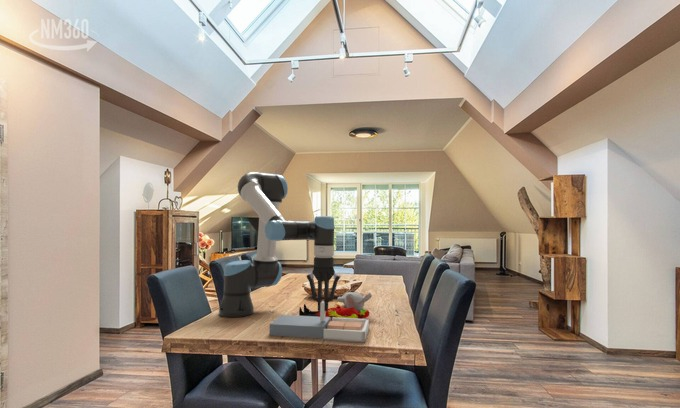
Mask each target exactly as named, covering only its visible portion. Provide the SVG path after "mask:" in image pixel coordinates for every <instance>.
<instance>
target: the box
mask: <svg viewBox="0 0 680 408" xmlns="http://www.w3.org/2000/svg"><path fill="white" fill-rule="evenodd" d="M331 321H340V322H359V323H362V331H357V330H339V329H324V338H323V341H333V342H334V341H335V342H337V341H338V342H353V343H366V339H367V336H368V334H369V329H370V319H369V318H363V319H355V318H336V317H331Z"/></svg>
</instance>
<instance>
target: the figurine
mask: <svg viewBox="0 0 680 408" xmlns="http://www.w3.org/2000/svg"><path fill="white" fill-rule="evenodd" d="M362 309H363V310H361V313H359V312H358V311H357V310H355V309H354V308H347V307H342V306H341V305H339V304H338V303H335V304H334V305H333V307H328V311H326V313H325V317H331V318H332V317H335V318H355V319H368V317H369V316H370V311H369V310H368V309H364V308H362ZM298 312H299V313H298V316H316V317H320V311H318V310H311V309H309V308H308V307H307V305H306V304H305V303H303V309H302V307H301V306H299V311H298Z"/></svg>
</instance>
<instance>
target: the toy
mask: <svg viewBox="0 0 680 408" xmlns="http://www.w3.org/2000/svg"><path fill="white" fill-rule="evenodd" d="M372 297H373V295H372V293H367V294H366V295H365V296H362V294H361V293H359V292H351V291H350V292H349V291H348V292H345V293H344V294H343V295H342V296H338V297H337V299H336V300H337V302H339V303H342V304H343V305H344V306H345V308H354V309H355V310H357V311H358V312H359V313H361V310H363V309H364V306H365V303H366V302H368V301H369V300H371V298H372Z"/></svg>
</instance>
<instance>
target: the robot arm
mask: <svg viewBox="0 0 680 408" xmlns="http://www.w3.org/2000/svg"><path fill="white" fill-rule="evenodd" d="M288 189H289V188H288V183H287V180H286V179H285V177H284V176H283V175H281V174H276V173H267V172H257V171H250V172H247V173H245V174H243V175H242V176H241V177H240V179H239V181H238V183H237V192H238V194H239V196H240V197H241V198H242V200H243V201H246V202H247V203H248V204H249V205H250V207H251V208H252V209H253V211H254V212H255V213H256V214H257V216H258V231H257V234H258V235H257V244H256V245H257V246H256V247H257V249H256V254H255V256H254V257H253V259H252V261H251V260H250V259H249V260H248V259H243V260H235V261H230V262H229V263H226V264H225V266H224V269H223V297H222V300H221V302H220V304H219V305H220V306H219V308H218V316H220V317H223V318H242V317H247V316H251V315H253V314H254V304H253V301H252V298H251V297H252V296H251V289H256V288H264V287H265V288H269V287H271V286H276V285H277V284H278V283H280V281H281V279H282V275H283V268H282V264H281V263H280V262H279V258H278V257H277V256H276V248H277V247H276V245H277V242H280V241H314V243H313V255H314V257H313V268H312V272H311V273H308V274H307V275H306V278H307V280H308V283H309V287H310V291H311V298H312V300H313V301H315V302H317V311H320V320H321V321H324V320H325V313H326V311H328V309H329V302H332V301H334V299H335V298H334V297H335V293H336V290H337V289H336V288H337V285H338V281H339V280H340V279H341V275H340V274H337V273H336V271H335V268H334V264H335V263H334V261H335V260H334V259H335V258H334V257H333V256H334V255H335V254H334V253H335V246H334V245H335V228H336V227H335V218H334V217H333V216H330V215H329V216H328V215H317V216H315V217H314V221H312V220H286V218H285V217H284V215H282V214H281V212H280V211H279V206H280V205H281V204H282V202H283V199H285V198H286V197H287V194H288ZM332 277H333V278H332ZM314 278H315V279H316V280H317V289H316V284H315V281H314ZM331 279H333V283H332V286H331V291H330V281H331ZM323 283H324V290H323ZM316 290H317V291H316ZM323 291H324V298H323ZM329 291H330V292H329ZM322 300H323V301H322Z"/></svg>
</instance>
